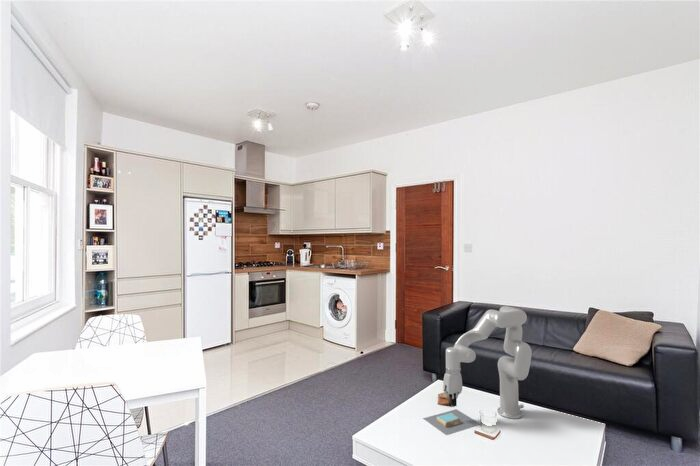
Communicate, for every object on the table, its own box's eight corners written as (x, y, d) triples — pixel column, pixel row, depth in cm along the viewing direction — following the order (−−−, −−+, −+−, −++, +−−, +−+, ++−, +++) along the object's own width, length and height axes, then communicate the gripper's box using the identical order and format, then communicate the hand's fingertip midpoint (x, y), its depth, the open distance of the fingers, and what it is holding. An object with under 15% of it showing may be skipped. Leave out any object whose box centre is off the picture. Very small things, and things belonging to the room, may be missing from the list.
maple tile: (450, 412, 194) (436, 416, 189) (460, 418, 187) (445, 422, 183) (451, 417, 193) (436, 421, 189) (460, 423, 187) (445, 427, 183)
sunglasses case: (437, 393, 225) (442, 385, 225) (447, 400, 224) (452, 391, 223) (436, 406, 208) (442, 397, 207) (447, 413, 206) (453, 404, 206)
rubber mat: (456, 410, 203) (456, 409, 203) (481, 425, 186) (481, 424, 186) (422, 419, 192) (422, 418, 192) (446, 436, 175) (446, 435, 175)
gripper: (458, 366, 197) (459, 400, 197) (437, 371, 191) (437, 405, 190) (468, 371, 190) (468, 405, 190) (446, 375, 184) (447, 411, 183)
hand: (453, 405), depth 190 cm, fingers closed
